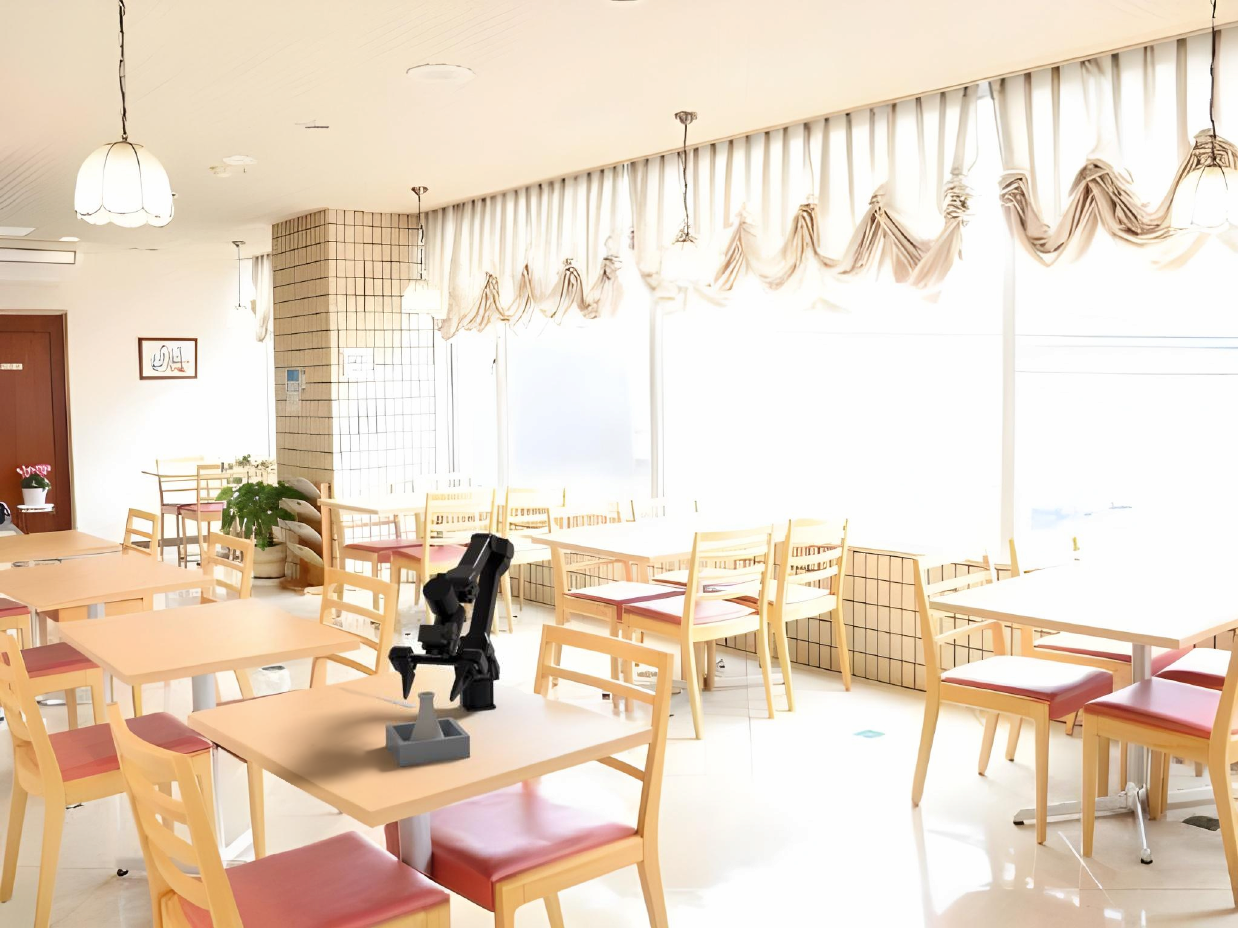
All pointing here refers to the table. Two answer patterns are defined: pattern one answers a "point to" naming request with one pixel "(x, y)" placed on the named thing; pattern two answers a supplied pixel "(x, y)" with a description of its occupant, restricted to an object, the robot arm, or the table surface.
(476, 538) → the robot arm
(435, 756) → the tray
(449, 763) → the table surface
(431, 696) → the flask
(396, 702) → the butter knife
